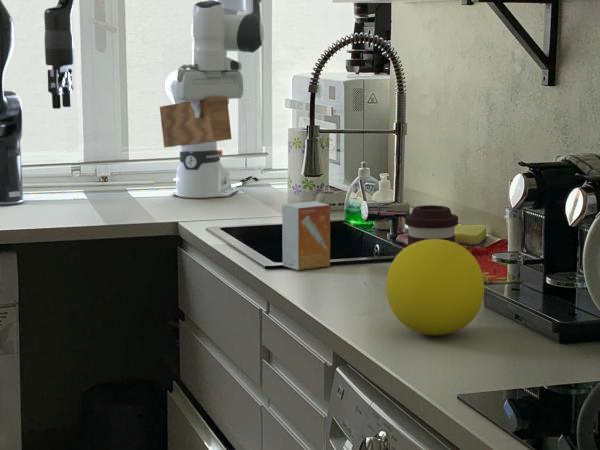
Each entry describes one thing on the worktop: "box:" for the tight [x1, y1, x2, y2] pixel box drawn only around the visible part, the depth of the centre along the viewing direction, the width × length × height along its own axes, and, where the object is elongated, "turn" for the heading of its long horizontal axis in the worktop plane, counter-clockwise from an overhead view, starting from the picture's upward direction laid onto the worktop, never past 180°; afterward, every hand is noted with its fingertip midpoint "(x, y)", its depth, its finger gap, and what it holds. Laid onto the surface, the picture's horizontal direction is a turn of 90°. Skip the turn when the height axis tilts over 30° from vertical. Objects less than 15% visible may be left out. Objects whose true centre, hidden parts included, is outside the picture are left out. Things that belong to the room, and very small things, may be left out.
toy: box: [385, 239, 485, 336], centre depth 164 cm, size 15×15×15 cm
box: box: [159, 97, 232, 149], centre depth 281 cm, size 22×6×11 cm, turn 43°
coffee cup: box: [404, 204, 459, 246], centre depth 197 cm, size 10×10×15 cm
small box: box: [281, 200, 331, 271], centre depth 216 cm, size 8×6×13 cm
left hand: (62, 107), depth 285 cm, fingers open, 8 cm apart
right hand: (210, 117), depth 276 cm, fingers closed on box, 6 cm apart
